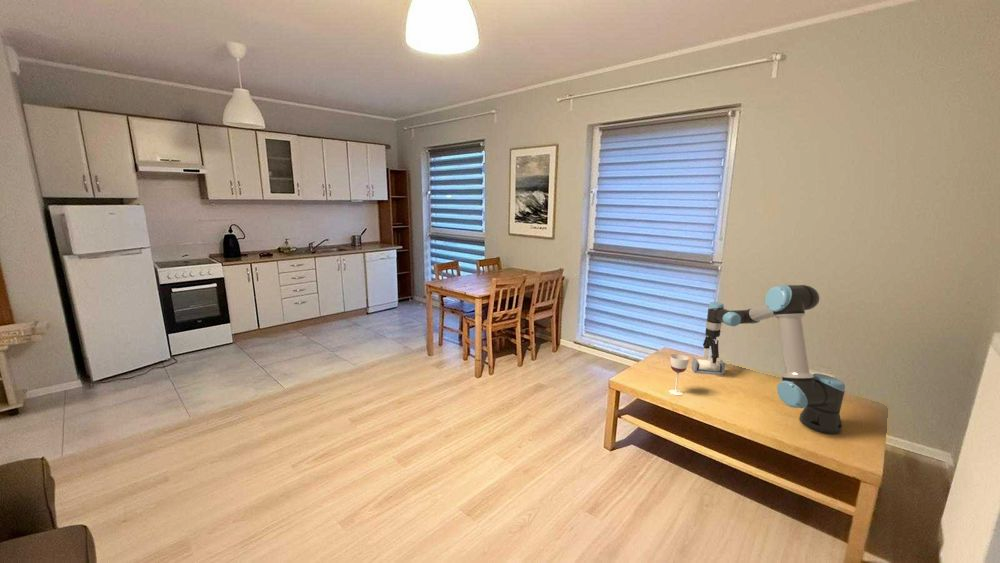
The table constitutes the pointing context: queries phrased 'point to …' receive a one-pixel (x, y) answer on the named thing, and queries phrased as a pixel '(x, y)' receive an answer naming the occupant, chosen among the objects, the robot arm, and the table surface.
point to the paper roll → (707, 365)
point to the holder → (720, 372)
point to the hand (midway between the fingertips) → (709, 363)
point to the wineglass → (678, 368)
